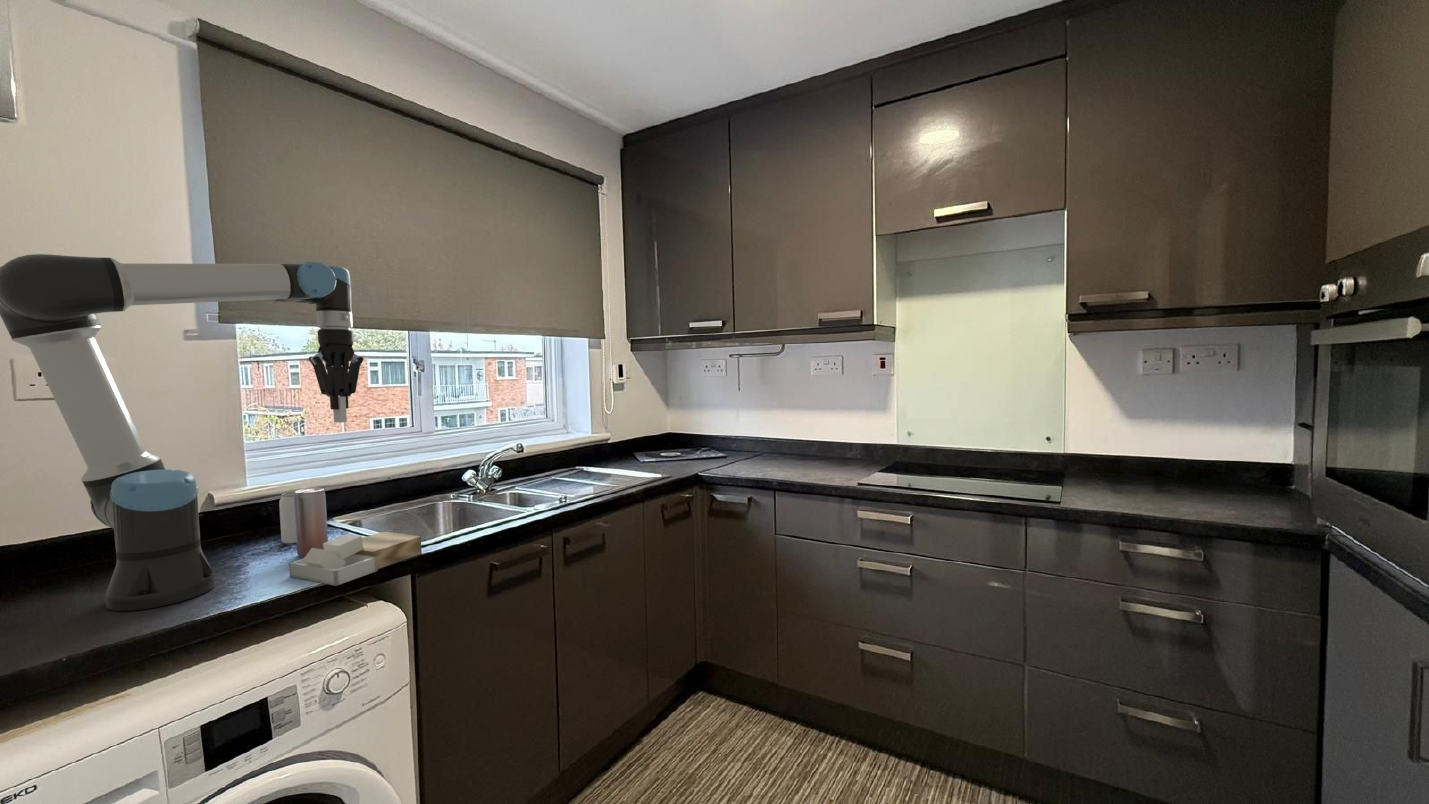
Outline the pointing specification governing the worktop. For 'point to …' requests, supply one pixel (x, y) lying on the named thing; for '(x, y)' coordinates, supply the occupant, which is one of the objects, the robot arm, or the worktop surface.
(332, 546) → the tile rear
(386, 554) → the board
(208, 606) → the worktop surface
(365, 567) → the tray
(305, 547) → the beverage can
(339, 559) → the tile front
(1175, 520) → the worktop surface
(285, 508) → the can
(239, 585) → the worktop surface
